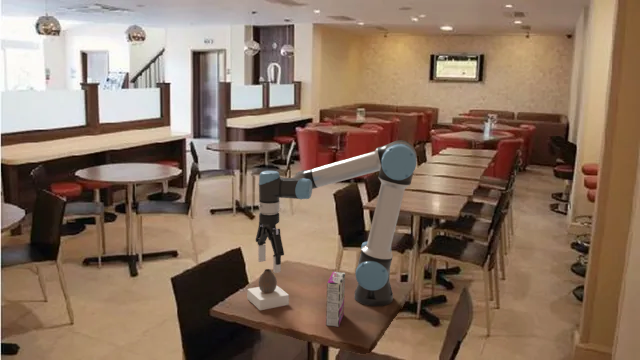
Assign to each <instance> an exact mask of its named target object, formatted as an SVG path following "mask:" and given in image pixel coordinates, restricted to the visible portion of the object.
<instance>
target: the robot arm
mask: <svg viewBox="0 0 640 360" xmlns="http://www.w3.org/2000/svg"><path fill="white" fill-rule="evenodd" d="M417 157H418V155H417V151H416V148H415V147H414V145H413V144H411V143H410V142H408V141H406V140H402V139H401V140H395V141H393V142H390V143H388V144H385V145H381V146H378V147H376V148H375V150H374V151H370V152H368V153H364V154H360V155H357V156H353V157H350V158H349V157H348V158H347V159H341V160H338V161H335V162H332V163H329V164H325V165H321V166H319V167H318V166H317V167H315V168H312V169H307V170H306V169H305V170H300V171H298V172H297V173H296V174H295V175H294V176H293V177H283V176H282V177H281V175H280V172H279V171H276V170H262V171H261V172H260V173H259V177H258V179H259V180H258V198H259V199H258V205H257V206H258V209H259V210H258V211H259V213H258V229H257V232H256V237H255V243H257V246H258V250H257V251H258V252H257V254H258V256H257V257H258V260H257V261H258V262H259V263H262V262H266V261H267V260H266V257H267V256H266V251H267V250H266V242H267V239H268V240H269V242H270V244H271V247H272V252H273V255H272V259H273V260H272V261H273V264H272V265H273V267H272V268H273V270H272V273H273V274H277V273H281V272H282V265H281V264H282V256H284V255H285V251H284V247H283V241H282V236H281V228H277V224H279V223H280V198H281V199H295V200H297V199H298V200H308V199H311V196H312V193H313V190H314V189H317V188H320V187H325V186H328V185H333V184H335V183H339V182H342V181H343V182H344V181H346V180H350V179H353V178H357V177H361V176H365V175H369V174H372V173H376V172H379V173H378V177H377V178H378V179H379V181H380V183H381V184H380V188H379V192H378V196H377V201H376V203H375V209H374V212H373V217H372V221H371V226H370V230H369V233H368V234H369V235H368V238H367V241H364V242H362V244H361V247H360V255H359V259H358V263H357V267H356V268H355V279H356V280H355V281H356V282H357V285H356V288H355V291H354V295H353V296H354V300H355V301H356V302H358V303H360V304H363V305H365V306H371V307H373V306H374V307H381V306H382V307H383V306H388V305H390V304H392V302H393V300H394V299H393V298H394V294H393V290H392V289H393V288H392V286H391V282H390V279H391V276H390V274H391V266H392V261H393V257H394V254H393V253H392V243H393V240H394V236H395V231H396V227H397V224H398V219H399V214H400V211H401V207H402V203H403V199H404V195H405V190H406V189H407V188H408V187H409V186H411V184H412V179H413V176H414V173H415V170H416V168H417V162H418V161H417Z"/></svg>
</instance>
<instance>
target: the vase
mask: <svg viewBox="0 0 640 360" xmlns="http://www.w3.org/2000/svg"><path fill="white" fill-rule="evenodd" d="M277 281H278V280H277V277H276V275H275V273H273V270H272V269H270V268H265V269H264V271H263V272H262V274H261V275H260V276H259V279H258V287H259V288H260V290H261V291H262V292H263V293H266V294H269V293H272V292H273V291H274V290H275V289H276V286H278V285H277V284H278V282H277Z"/></svg>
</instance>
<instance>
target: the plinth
mask: <svg viewBox="0 0 640 360" xmlns="http://www.w3.org/2000/svg"><path fill="white" fill-rule="evenodd" d="M246 291H247V293H246V299H247V300H248V301H249V302H250V303H251V304H252V305H254V306H255V307H256V309H257V310H258V311H263V310H265V311H266V310H270V309H273V308H280V307H284V306H289V305H290V294H289V293H287V292H286V290H285V291H284V290H283V289H282V288H281V287H280V286H278V285H277V286H276V289H275V290H274V291H273V292H272V293H269V294H266V293H263V292H262V291H261V290H260V288H259V286H256V287H250V288H247V290H246Z"/></svg>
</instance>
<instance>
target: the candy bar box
mask: <svg viewBox="0 0 640 360" xmlns="http://www.w3.org/2000/svg"><path fill="white" fill-rule="evenodd" d="M345 283H346V272H343V271H342V272H340V271H332V272H331V275H330V277H329V278H328V280H327V282H326V314H325V316H326V318H325V319H326V321H325V325H326V327H327V326H328V327H335V328H339V327H340V326H341V325H340V324H341V323H342V320H343V318H344V315H345V287H346V286H345Z"/></svg>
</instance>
